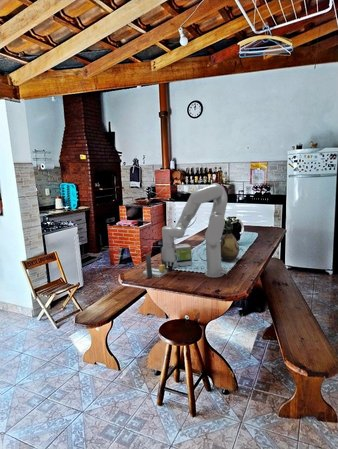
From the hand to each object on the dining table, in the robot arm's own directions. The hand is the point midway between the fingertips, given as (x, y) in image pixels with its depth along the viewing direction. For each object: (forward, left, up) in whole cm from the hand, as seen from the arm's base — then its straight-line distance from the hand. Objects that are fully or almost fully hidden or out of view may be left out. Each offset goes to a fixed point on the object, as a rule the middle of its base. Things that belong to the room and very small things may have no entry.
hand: (170, 271), depth 206 cm
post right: (+11, -9, -3) cm, 14 cm away
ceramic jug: (-23, -45, -3) cm, 51 cm away
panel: (+12, +2, -3) cm, 13 cm away
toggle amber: (+7, 0, -1) cm, 7 cm away
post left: (+11, +9, -3) cm, 15 cm away
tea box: (+5, -21, -3) cm, 22 cm away
